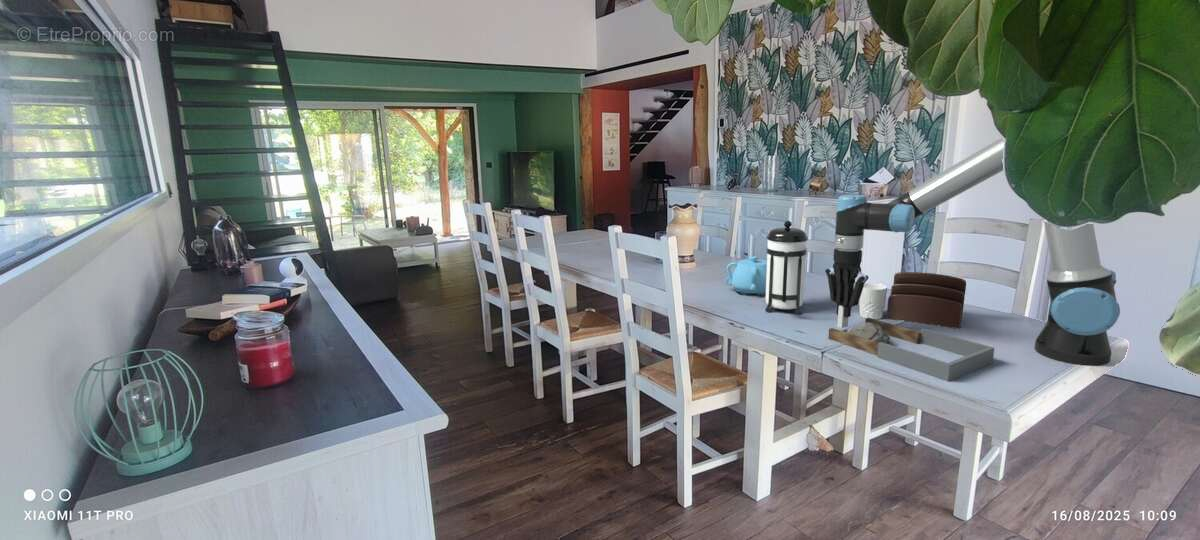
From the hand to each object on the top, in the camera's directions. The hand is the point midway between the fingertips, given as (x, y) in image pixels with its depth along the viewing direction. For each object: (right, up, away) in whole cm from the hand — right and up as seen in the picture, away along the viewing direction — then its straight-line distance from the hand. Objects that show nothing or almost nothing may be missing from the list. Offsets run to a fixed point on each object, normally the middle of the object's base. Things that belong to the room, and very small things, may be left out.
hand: (842, 326), depth 167 cm
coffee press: (-10, +3, +21) cm, 24 cm away
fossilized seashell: (+3, -4, -8) cm, 10 cm away
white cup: (+15, +2, +13) cm, 19 cm away
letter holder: (+29, +1, +9) cm, 30 cm away
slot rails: (+5, -3, -8) cm, 10 cm away
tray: (+14, -6, -23) cm, 27 cm away
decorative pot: (-15, +8, +45) cm, 48 cm away
